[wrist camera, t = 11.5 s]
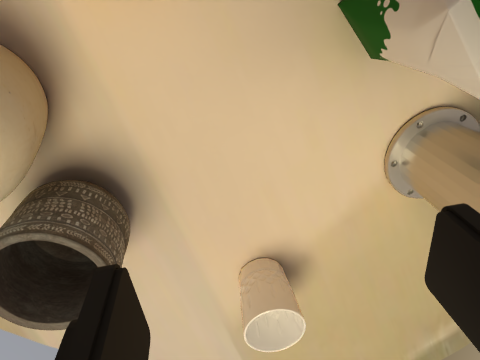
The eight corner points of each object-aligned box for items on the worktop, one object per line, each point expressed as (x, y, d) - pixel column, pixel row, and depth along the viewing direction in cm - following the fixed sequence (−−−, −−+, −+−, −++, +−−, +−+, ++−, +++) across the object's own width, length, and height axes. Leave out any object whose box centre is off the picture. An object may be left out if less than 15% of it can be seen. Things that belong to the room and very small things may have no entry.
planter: (50, 254, 45) (3, 339, 34) (14, 172, 39) (-57, 243, 28) (143, 242, 46) (128, 321, 35) (122, 160, 40) (95, 223, 29)
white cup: (289, 253, 50) (310, 307, 41) (283, 292, 54) (301, 349, 45) (235, 255, 49) (245, 311, 40) (234, 295, 53) (242, 354, 44)
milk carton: (398, -64, 33) (633, -132, 15) (436, 15, 37) (658, 32, 19) (325, 3, 35) (459, 11, 17) (368, 71, 39) (513, 133, 21)
